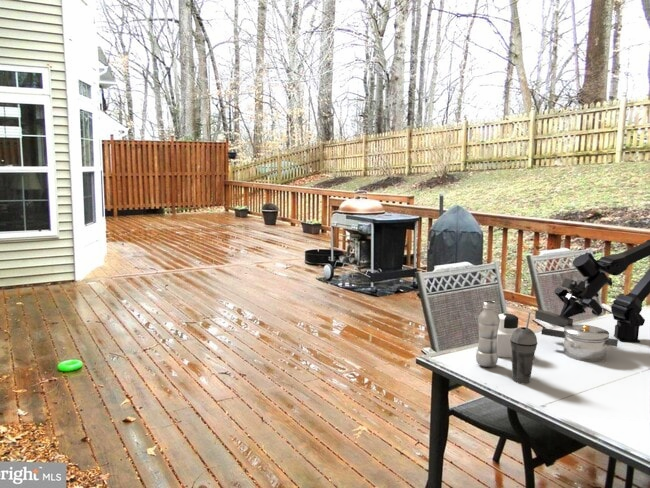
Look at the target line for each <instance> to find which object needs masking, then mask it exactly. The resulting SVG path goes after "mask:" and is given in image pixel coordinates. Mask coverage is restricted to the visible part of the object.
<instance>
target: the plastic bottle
mask: <svg viewBox="0 0 650 488" xmlns="http://www.w3.org/2000/svg"><path fill="white" fill-rule="evenodd" d="M482 308H483V310H482V311H481V312H480V313H479V315H478V318H477V325H478V335H479V336H478V345H477V350H476V352H475V361H476V363H477V365H479V366H482V367H485V368H494V367H495V366H496V365H498V361H499V360H498V359H499V357H498V354H497V334H498V328H499V323H500V318H499V316H498V315H499V314H498V313H497V302H495V301H492V300H484V301H483V306H482Z"/></svg>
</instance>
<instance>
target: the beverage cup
mask: <svg viewBox="0 0 650 488" xmlns="http://www.w3.org/2000/svg"><path fill="white" fill-rule="evenodd" d="M531 313H532V312H530V311H529V312H528V314H527V321H526V326H525V327H523V326H521V327H518V329H516V330H515V331H514V332H513V333H512V336H511V339H510V341H511V348H512V357H511V372H512V373H511V375H512V381H513V380H514V381H513V382H515V383H517V382H518V383H517V384H521V383H524V384H526V383H527V384H529V383H530V382H531V381H530V380H531V377H532V371H533V365H534V359H535V352H536V350H537V346H538V339H537V335H536V334H535V332H534V331H533V330H532V329H530V328H529V324H530V319H531ZM527 384H526V385H527Z"/></svg>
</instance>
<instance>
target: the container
mask: <svg viewBox="0 0 650 488" xmlns="http://www.w3.org/2000/svg"><path fill="white" fill-rule="evenodd" d="M498 316H499V318H500V323H499V328H498V334H497V354H498V358H512V348H511V341H510V339H511V336H512V333H513V332H514V331H515V330H516V329H518V328H519V327H518V326H519V318H518V316H517V315H515V314H513V313H512V314H511V313H500V314H498Z"/></svg>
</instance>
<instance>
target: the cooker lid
mask: <svg viewBox="0 0 650 488" xmlns="http://www.w3.org/2000/svg"><path fill="white" fill-rule="evenodd" d="M534 319H535V320H539V321H541V322H545V323H548V324H551V325H554V326H557V327H560V328H563V331H564V332H565V333H566V334H567V335H569V336H572V337H575V338H579V339H584V340H593V341H600V340H606V339H608V338H609V336H610V332H609V331H608V330H606V329H604V328H602V327H598V326H593V325H588V324H578V323H576V324H575V323H574V322H573V321H574V319H573V318H572V317H569V318H568V317H564V316H561V315H560V314H557V313H554V312H550V311H547V310H543V309H536V310H535V315H534Z"/></svg>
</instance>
